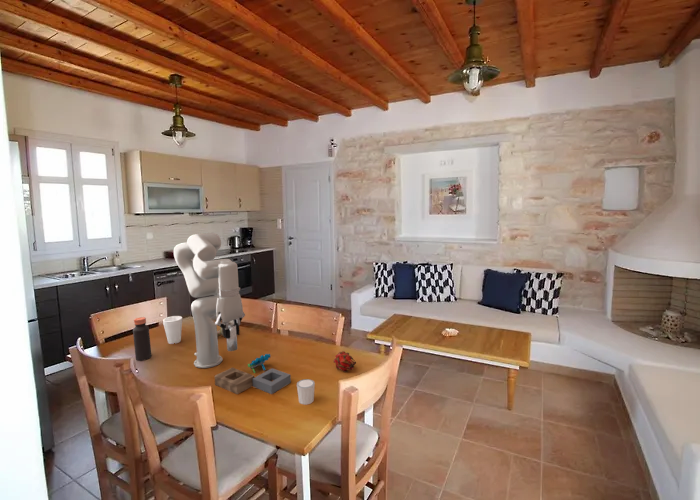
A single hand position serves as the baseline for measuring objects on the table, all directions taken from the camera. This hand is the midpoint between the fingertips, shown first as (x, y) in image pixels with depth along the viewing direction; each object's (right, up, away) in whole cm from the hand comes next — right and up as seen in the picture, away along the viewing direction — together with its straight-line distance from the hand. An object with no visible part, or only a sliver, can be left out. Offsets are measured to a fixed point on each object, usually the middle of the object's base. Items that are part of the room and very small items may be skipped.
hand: (231, 335), depth 148 cm
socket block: (+16, -21, +3) cm, 27 cm away
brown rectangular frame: (0, -21, +3) cm, 21 cm away
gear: (+7, -19, +17) cm, 27 cm away
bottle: (-53, -18, +30) cm, 64 cm away
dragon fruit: (+46, -19, +15) cm, 52 cm away
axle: (0, -6, +1) cm, 6 cm away
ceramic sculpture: (-22, -14, +59) cm, 64 cm away
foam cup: (-48, -15, +51) cm, 71 cm away
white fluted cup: (+32, -23, -10) cm, 40 cm away
